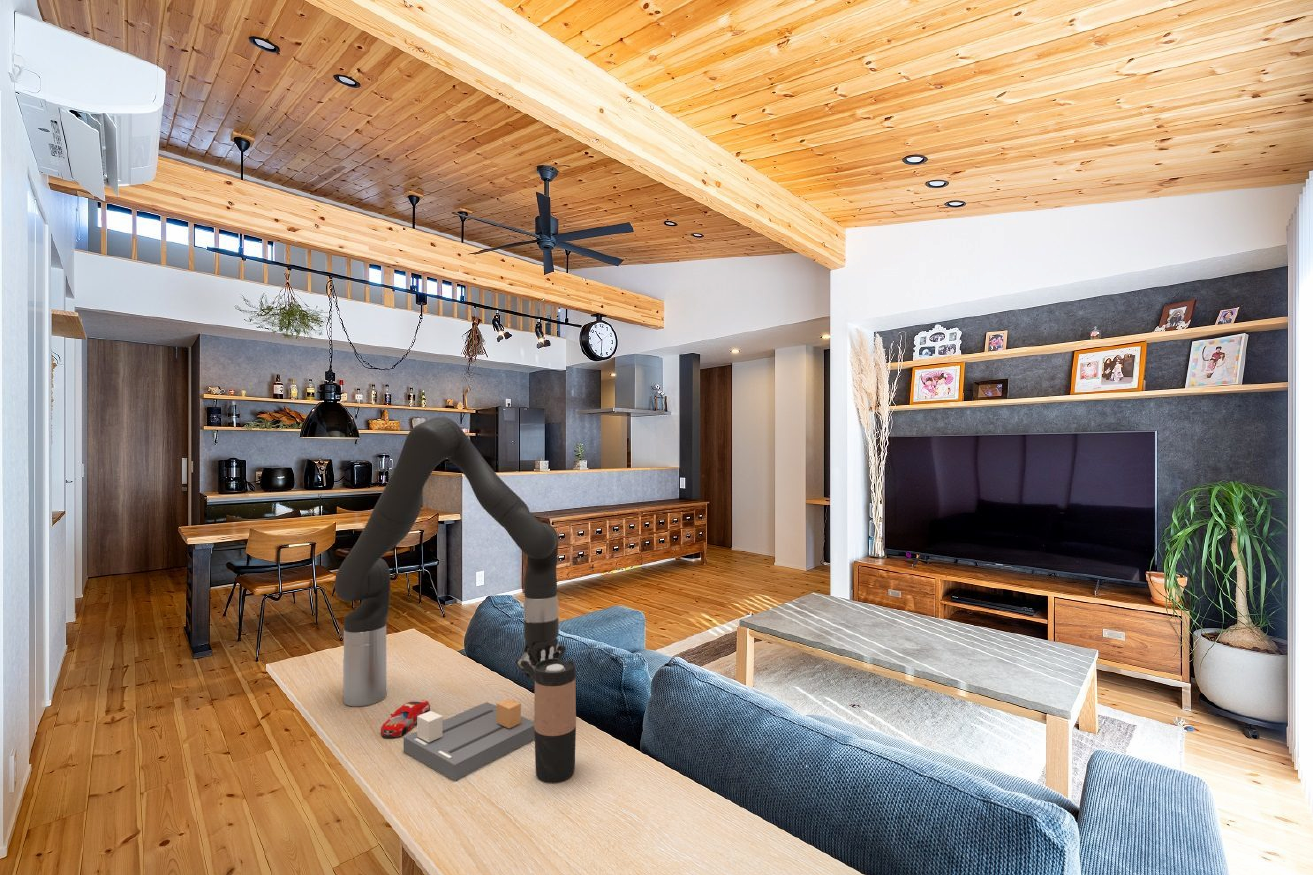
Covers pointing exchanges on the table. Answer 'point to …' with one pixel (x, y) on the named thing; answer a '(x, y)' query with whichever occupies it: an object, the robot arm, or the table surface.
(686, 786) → the table surface
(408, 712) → the race car
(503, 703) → the fader
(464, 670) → the table surface
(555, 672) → the travel mug
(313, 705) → the table surface
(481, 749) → the console
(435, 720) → the fader
